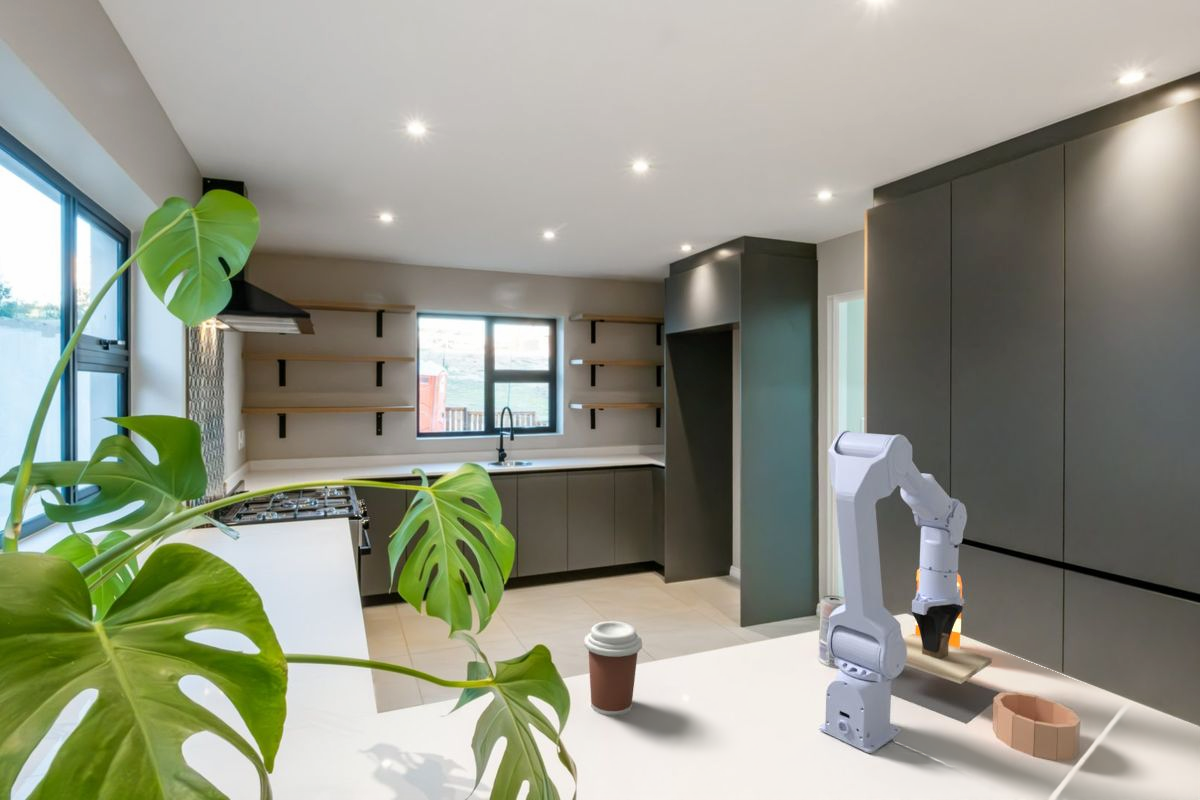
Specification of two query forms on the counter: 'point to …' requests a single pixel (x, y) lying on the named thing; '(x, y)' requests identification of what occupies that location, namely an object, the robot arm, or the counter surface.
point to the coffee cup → (612, 666)
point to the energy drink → (827, 628)
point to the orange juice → (956, 629)
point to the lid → (944, 659)
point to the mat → (942, 694)
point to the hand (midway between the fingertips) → (935, 648)
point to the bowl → (1036, 726)
